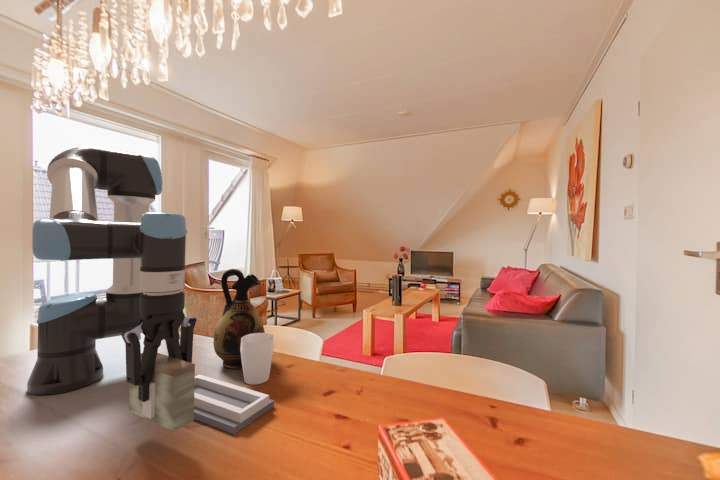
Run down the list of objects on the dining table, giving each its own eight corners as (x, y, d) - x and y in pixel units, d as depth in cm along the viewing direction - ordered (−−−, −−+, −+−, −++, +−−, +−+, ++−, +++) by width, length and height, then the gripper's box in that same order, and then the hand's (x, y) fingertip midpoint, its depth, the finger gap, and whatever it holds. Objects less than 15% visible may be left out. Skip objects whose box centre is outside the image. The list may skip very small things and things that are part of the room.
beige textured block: (129, 410, 64) (129, 356, 64) (149, 401, 67) (150, 350, 67) (173, 431, 58) (175, 371, 57) (193, 420, 61) (194, 364, 61)
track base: (160, 405, 75) (160, 391, 75) (204, 384, 86) (204, 372, 86) (233, 434, 65) (234, 417, 65) (273, 406, 75) (274, 392, 75)
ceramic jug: (270, 354, 109) (271, 267, 109) (257, 373, 94) (258, 272, 94) (220, 354, 108) (221, 266, 108) (198, 373, 93) (200, 271, 93)
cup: (263, 388, 84) (264, 343, 84) (233, 385, 86) (233, 341, 86) (278, 374, 93) (279, 333, 93) (250, 371, 95) (251, 331, 95)
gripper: (126, 301, 53) (124, 440, 53) (213, 287, 68) (211, 394, 69) (101, 296, 56) (99, 427, 56) (190, 284, 71) (188, 386, 72)
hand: (160, 409), depth 62 cm, fingers closed on beige textured block, 4 cm apart
